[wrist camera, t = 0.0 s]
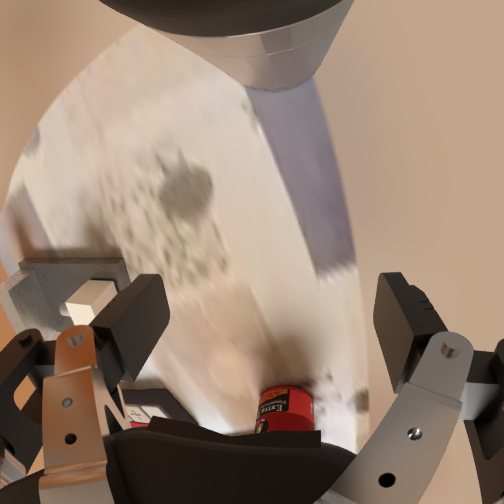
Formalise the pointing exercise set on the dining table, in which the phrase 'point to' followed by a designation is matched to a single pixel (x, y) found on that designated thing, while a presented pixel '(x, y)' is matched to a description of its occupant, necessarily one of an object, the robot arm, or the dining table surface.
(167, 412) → the calculator
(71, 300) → the block
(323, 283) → the dining table surface
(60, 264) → the gauge base
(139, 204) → the dining table surface
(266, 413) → the canned food
